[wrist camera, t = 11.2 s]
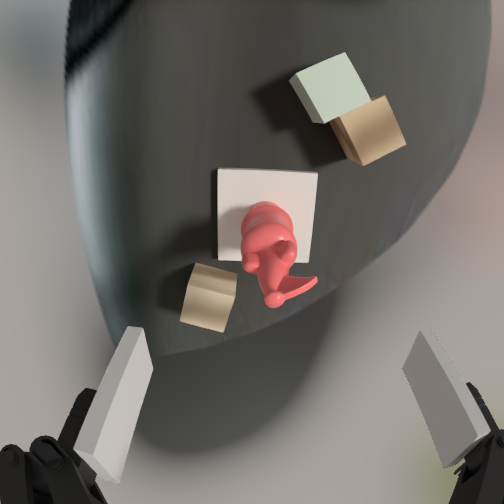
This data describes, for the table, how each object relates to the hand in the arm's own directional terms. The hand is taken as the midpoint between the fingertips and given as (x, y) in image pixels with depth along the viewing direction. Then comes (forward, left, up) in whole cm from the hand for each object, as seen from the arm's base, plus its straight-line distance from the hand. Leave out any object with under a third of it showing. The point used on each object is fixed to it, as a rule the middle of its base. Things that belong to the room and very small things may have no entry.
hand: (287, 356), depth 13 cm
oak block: (-10, +9, -21) cm, 25 cm away
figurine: (0, 0, -20) cm, 20 cm away
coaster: (0, 0, -21) cm, 21 cm away
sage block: (-13, +5, -21) cm, 25 cm away
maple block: (+9, -6, -21) cm, 24 cm away
